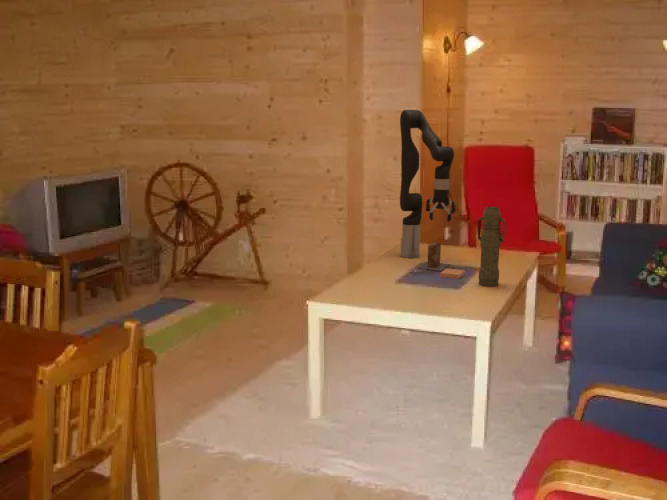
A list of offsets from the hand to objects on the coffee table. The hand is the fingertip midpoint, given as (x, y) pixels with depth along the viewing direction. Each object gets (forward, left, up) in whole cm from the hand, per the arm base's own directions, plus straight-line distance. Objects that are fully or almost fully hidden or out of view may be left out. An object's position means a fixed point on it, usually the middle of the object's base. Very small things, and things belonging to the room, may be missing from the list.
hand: (440, 220), depth 378 cm
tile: (+12, -11, -22) cm, 27 cm away
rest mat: (-2, -3, -23) cm, 23 cm away
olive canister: (+30, -25, -23) cm, 45 cm away
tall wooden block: (-2, -3, -22) cm, 22 cm away
